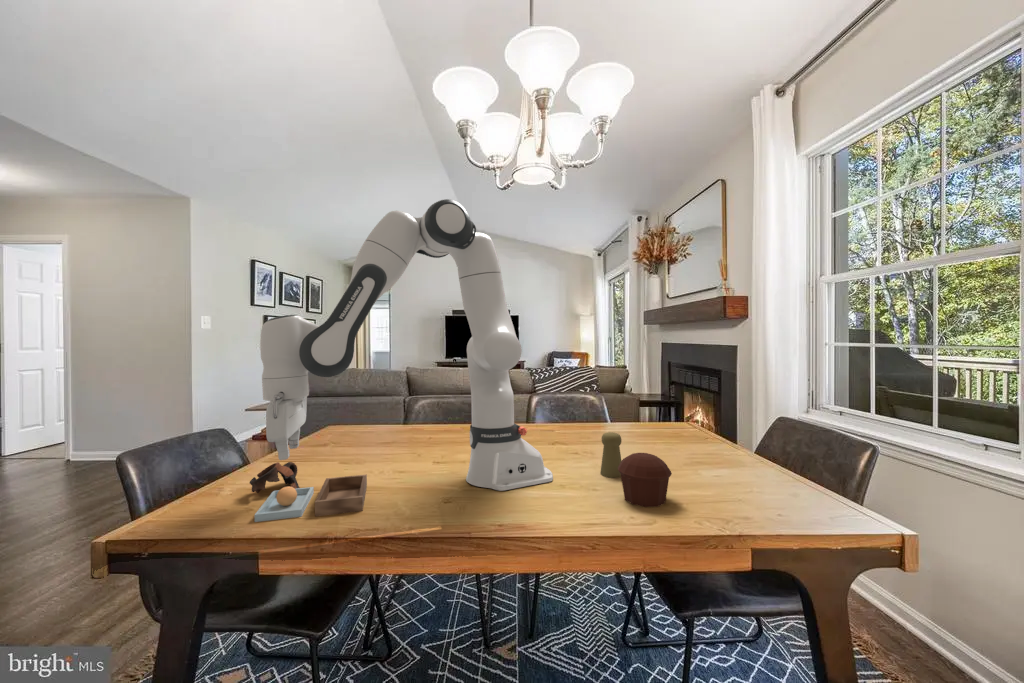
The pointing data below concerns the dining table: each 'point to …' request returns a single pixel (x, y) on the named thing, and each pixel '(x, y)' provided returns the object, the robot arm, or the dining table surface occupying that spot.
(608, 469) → the cork
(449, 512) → the dining table surface
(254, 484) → the brown curved piece
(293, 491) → the ball
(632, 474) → the muffin
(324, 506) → the wooden planter box
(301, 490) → the tray
